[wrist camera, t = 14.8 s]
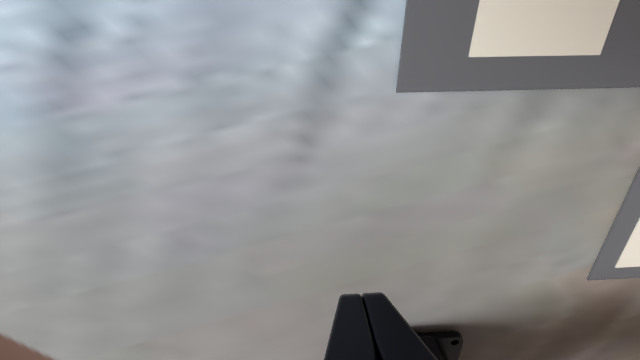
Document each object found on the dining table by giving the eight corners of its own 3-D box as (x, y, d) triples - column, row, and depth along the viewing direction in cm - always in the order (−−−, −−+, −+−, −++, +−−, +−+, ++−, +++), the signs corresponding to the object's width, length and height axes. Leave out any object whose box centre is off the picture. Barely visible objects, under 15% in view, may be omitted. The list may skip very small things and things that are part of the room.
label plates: (716, 271, 29) (718, 274, 29) (372, 291, 27) (373, 293, 27) (1091, -283, 15) (1099, -284, 15) (443, -315, 13) (445, -317, 13)
